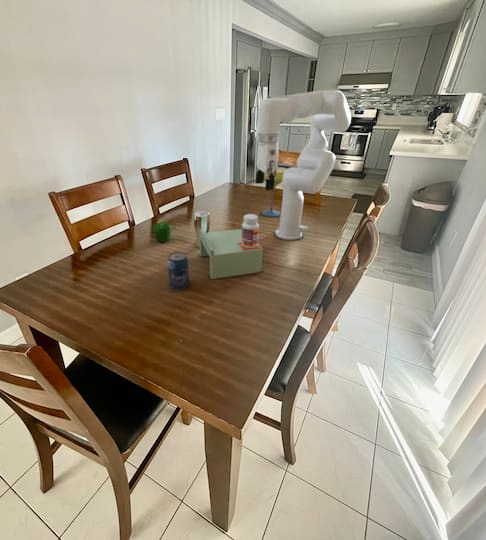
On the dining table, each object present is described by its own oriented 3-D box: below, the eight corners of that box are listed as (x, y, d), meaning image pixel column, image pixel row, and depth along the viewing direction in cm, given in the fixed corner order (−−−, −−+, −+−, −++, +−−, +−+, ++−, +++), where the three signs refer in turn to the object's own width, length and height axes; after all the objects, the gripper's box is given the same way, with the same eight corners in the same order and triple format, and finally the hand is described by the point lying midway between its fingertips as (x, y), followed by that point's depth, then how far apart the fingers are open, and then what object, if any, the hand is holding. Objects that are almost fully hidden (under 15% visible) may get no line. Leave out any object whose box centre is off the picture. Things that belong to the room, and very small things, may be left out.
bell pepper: (150, 242, 137) (147, 221, 132) (161, 235, 144) (158, 216, 139) (164, 245, 134) (162, 225, 129) (175, 238, 140) (173, 219, 135)
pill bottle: (255, 249, 108) (257, 220, 102) (239, 247, 110) (240, 218, 104) (259, 242, 113) (261, 214, 107) (243, 240, 114) (245, 212, 109)
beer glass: (208, 249, 131) (207, 217, 123) (193, 247, 132) (191, 216, 124) (211, 242, 137) (211, 211, 129) (197, 241, 138) (195, 210, 130)
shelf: (244, 249, 130) (245, 224, 124) (261, 271, 114) (263, 243, 108) (200, 254, 126) (199, 229, 120) (211, 279, 109) (210, 250, 103)
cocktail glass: (291, 211, 172) (297, 167, 159) (279, 221, 158) (285, 174, 146) (263, 206, 180) (266, 163, 167) (249, 215, 167) (252, 169, 154)
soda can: (174, 292, 102) (171, 262, 96) (167, 283, 107) (164, 254, 101) (192, 287, 105) (190, 258, 99) (184, 278, 110) (182, 249, 104)
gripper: (288, 141, 99) (282, 191, 108) (268, 135, 114) (264, 180, 123) (267, 142, 98) (263, 193, 107) (249, 136, 112) (247, 181, 121)
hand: (264, 186), depth 115 cm, fingers open, 9 cm apart
